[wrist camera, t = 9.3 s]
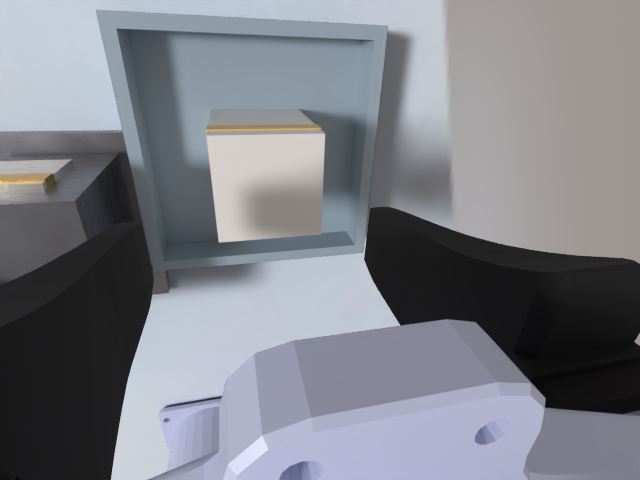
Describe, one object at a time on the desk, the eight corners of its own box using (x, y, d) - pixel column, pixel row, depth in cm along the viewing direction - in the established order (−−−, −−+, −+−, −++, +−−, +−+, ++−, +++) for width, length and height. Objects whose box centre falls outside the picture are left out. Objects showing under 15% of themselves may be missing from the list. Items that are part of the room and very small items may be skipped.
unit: (169, 288, 23) (149, 383, 17) (-12, 306, 21) (-114, 424, 15) (138, 130, 19) (93, 178, 12) (-100, 132, 16) (-311, 193, 10)
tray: (351, 234, 25) (363, 252, 22) (160, 249, 22) (153, 272, 20) (369, 27, 19) (388, 25, 17) (112, 13, 16) (95, 9, 14)
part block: (298, 188, 22) (321, 235, 16) (218, 192, 20) (217, 243, 15) (298, 107, 19) (326, 132, 14) (209, 108, 18) (204, 134, 13)
